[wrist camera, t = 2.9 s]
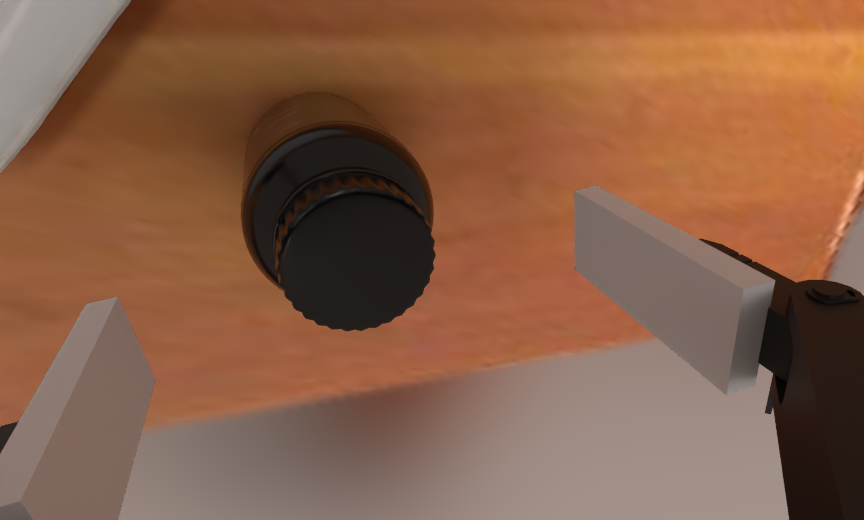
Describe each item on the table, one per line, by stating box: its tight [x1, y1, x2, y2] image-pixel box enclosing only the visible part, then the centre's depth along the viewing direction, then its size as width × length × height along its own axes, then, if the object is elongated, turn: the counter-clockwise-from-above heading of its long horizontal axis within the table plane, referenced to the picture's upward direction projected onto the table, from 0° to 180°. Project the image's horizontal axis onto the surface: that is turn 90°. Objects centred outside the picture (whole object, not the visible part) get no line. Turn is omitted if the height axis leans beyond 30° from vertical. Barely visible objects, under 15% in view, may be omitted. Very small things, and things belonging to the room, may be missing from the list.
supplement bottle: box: [241, 93, 435, 331], centre depth 21 cm, size 7×7×12 cm
